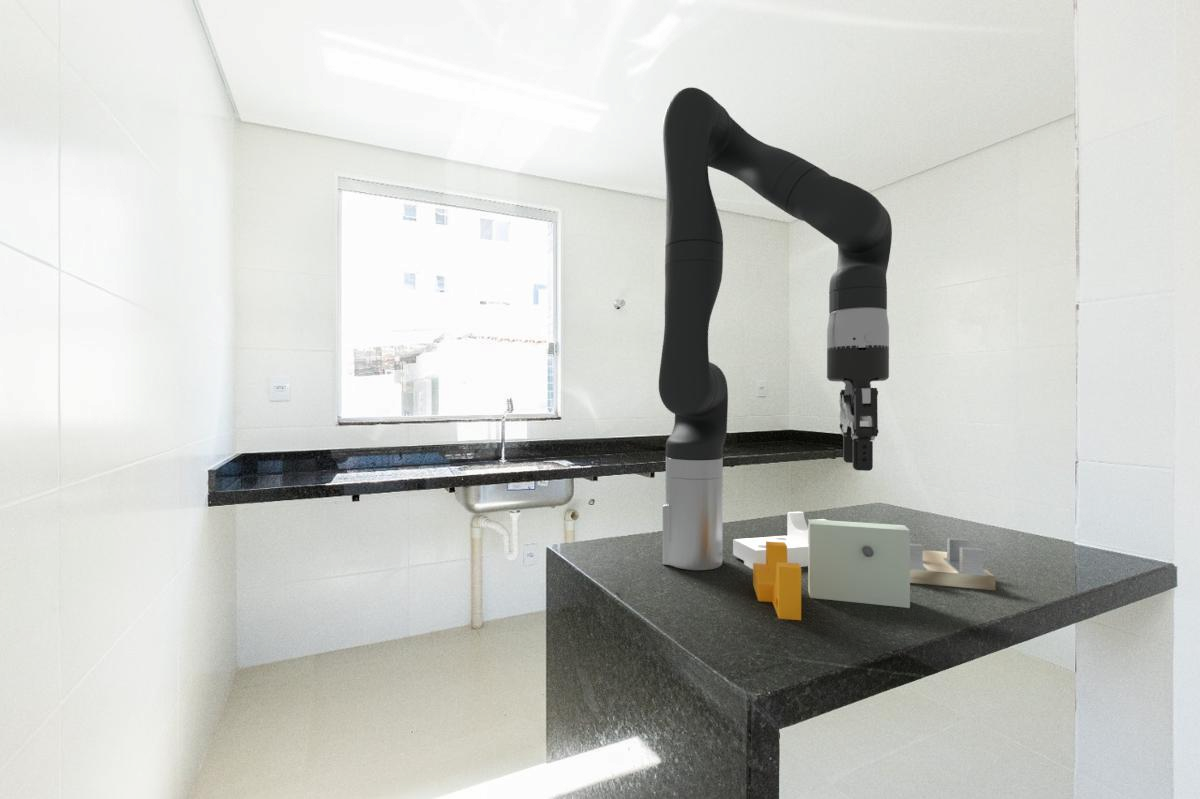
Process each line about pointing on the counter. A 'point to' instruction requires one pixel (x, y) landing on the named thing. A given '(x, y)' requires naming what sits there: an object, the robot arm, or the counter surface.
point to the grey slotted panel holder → (953, 557)
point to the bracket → (795, 541)
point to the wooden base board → (948, 574)
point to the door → (859, 562)
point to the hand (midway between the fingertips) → (857, 466)
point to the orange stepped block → (779, 582)
